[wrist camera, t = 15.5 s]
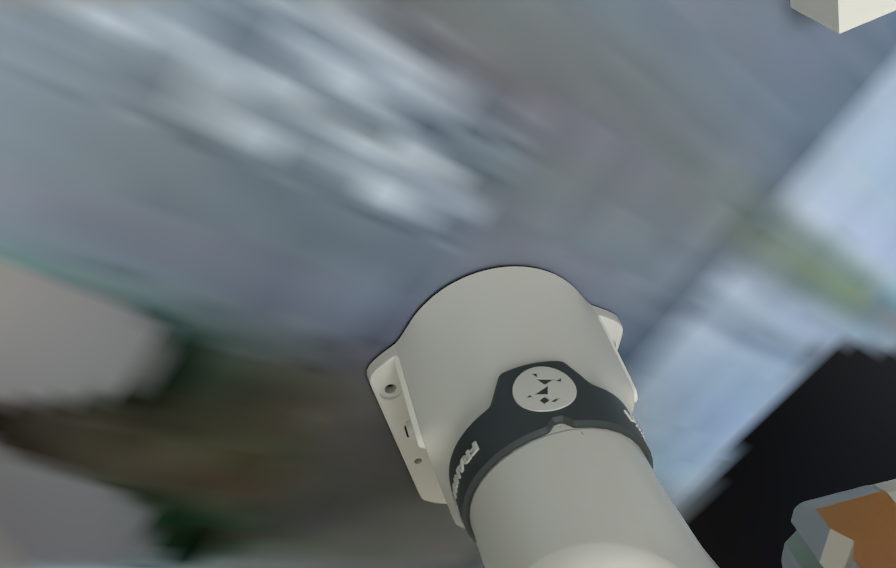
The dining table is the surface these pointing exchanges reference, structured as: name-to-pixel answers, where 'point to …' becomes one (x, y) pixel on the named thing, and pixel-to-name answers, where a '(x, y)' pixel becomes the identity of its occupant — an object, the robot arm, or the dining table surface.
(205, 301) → the dining table surface
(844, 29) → the grey cube
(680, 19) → the dining table surface
